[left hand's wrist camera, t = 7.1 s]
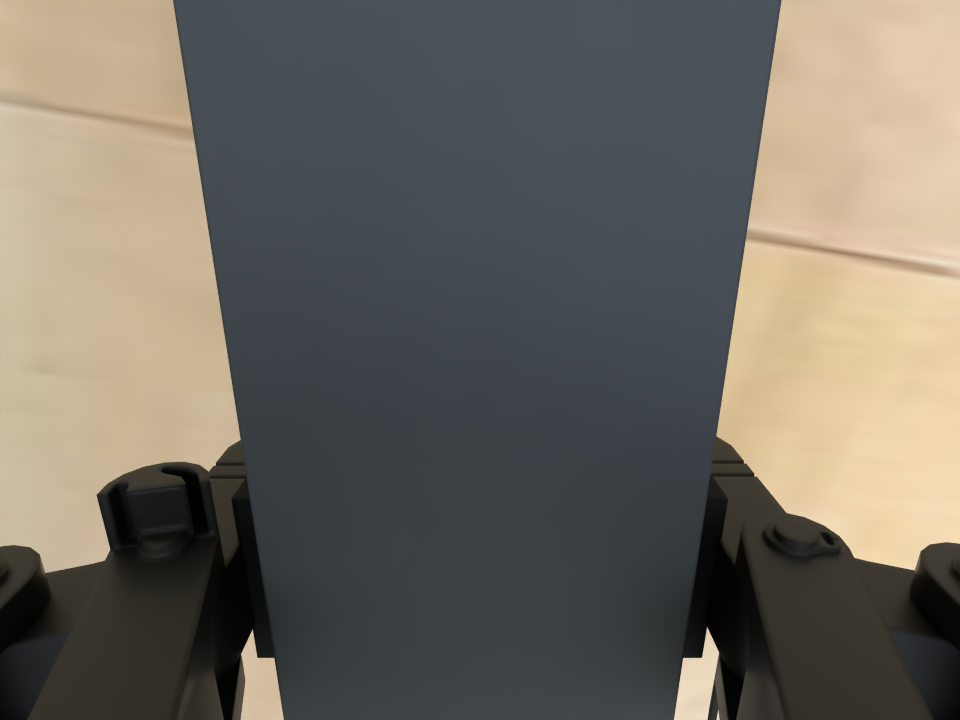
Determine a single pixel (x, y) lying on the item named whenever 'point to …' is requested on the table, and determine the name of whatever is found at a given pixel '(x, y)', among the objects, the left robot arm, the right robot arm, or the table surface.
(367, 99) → the bar
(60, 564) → the table surface
